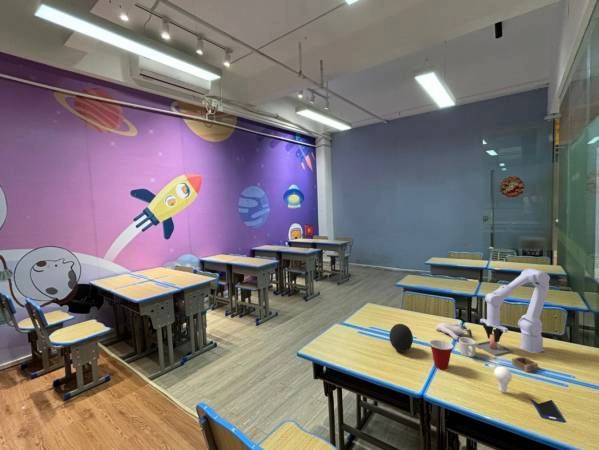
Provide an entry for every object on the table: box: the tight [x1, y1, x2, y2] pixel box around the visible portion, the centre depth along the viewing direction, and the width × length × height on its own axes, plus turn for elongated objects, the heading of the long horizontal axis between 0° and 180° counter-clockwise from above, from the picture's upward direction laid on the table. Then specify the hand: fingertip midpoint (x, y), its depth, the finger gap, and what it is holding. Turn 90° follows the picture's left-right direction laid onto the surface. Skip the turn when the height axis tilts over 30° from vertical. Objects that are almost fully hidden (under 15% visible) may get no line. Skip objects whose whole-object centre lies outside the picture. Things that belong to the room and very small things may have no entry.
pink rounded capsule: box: [489, 333, 498, 350], centre depth 153 cm, size 3×3×8 cm
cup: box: [458, 336, 477, 358], centre depth 148 cm, size 11×8×8 cm
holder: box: [511, 356, 539, 373], centre depth 136 cm, size 7×7×4 cm
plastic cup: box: [428, 339, 454, 371], centre depth 139 cm, size 11×11×12 cm
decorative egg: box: [388, 323, 414, 352], centre depth 156 cm, size 12×12×15 cm
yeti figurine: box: [435, 322, 473, 343], centre depth 174 cm, size 20×7×20 cm
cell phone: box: [530, 398, 566, 424], centre depth 110 cm, size 7×14×1 cm, turn 156°
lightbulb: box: [493, 366, 513, 394], centre depth 119 cm, size 6×6×11 cm
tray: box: [476, 340, 514, 357], centre depth 153 cm, size 12×12×2 cm
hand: (493, 339), depth 153 cm, fingers open, 4 cm apart
